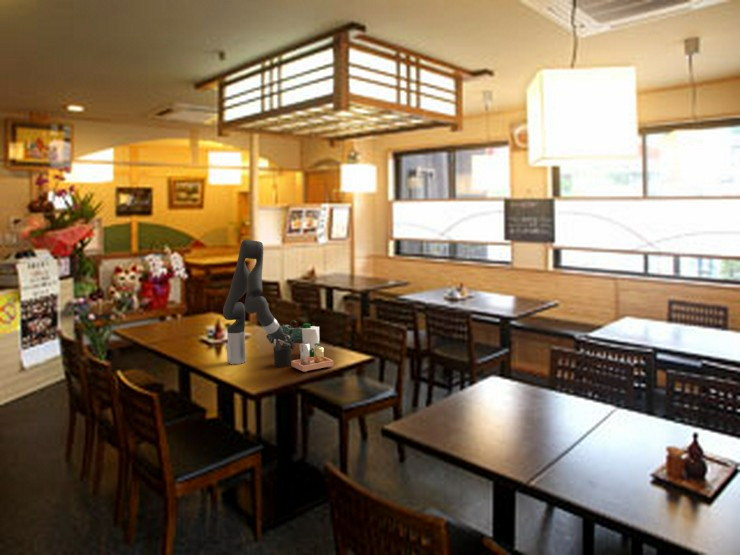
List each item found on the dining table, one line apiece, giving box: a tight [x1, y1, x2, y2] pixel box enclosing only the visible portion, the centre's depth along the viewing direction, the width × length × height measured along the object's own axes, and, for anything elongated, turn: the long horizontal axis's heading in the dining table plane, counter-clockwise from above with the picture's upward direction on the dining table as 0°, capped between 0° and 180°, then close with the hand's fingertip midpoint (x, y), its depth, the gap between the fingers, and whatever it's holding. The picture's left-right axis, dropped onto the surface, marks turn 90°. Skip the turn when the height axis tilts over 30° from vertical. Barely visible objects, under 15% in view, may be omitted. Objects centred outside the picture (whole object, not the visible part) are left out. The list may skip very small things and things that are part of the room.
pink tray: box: [290, 356, 335, 374], centre depth 284 cm, size 18×13×4 cm
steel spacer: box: [299, 343, 310, 366], centre depth 281 cm, size 5×5×11 cm
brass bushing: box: [314, 345, 325, 363], centre depth 286 cm, size 5×5×8 cm
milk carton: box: [301, 322, 321, 357], centre depth 301 cm, size 9×9×20 cm
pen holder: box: [273, 344, 292, 368], centre depth 291 cm, size 9×9×10 cm
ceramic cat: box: [280, 320, 303, 346], centre depth 313 cm, size 20×6×20 cm, turn 76°
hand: (286, 348), depth 276 cm, fingers open, 8 cm apart
